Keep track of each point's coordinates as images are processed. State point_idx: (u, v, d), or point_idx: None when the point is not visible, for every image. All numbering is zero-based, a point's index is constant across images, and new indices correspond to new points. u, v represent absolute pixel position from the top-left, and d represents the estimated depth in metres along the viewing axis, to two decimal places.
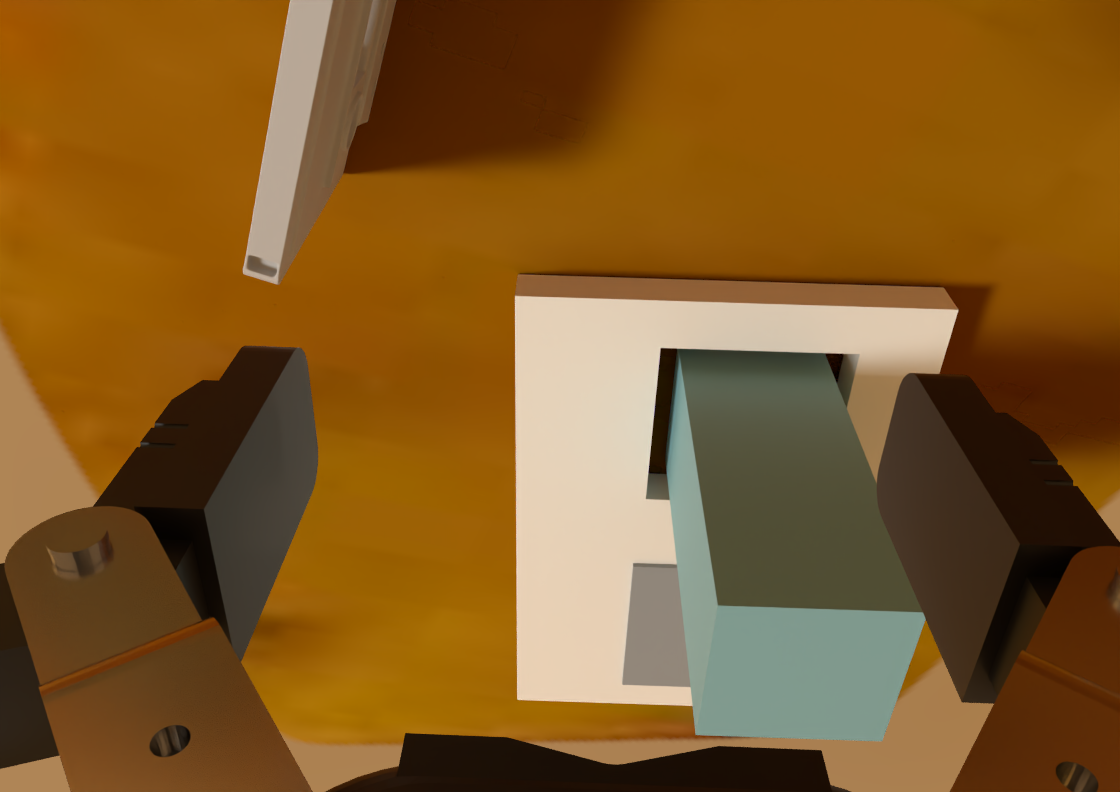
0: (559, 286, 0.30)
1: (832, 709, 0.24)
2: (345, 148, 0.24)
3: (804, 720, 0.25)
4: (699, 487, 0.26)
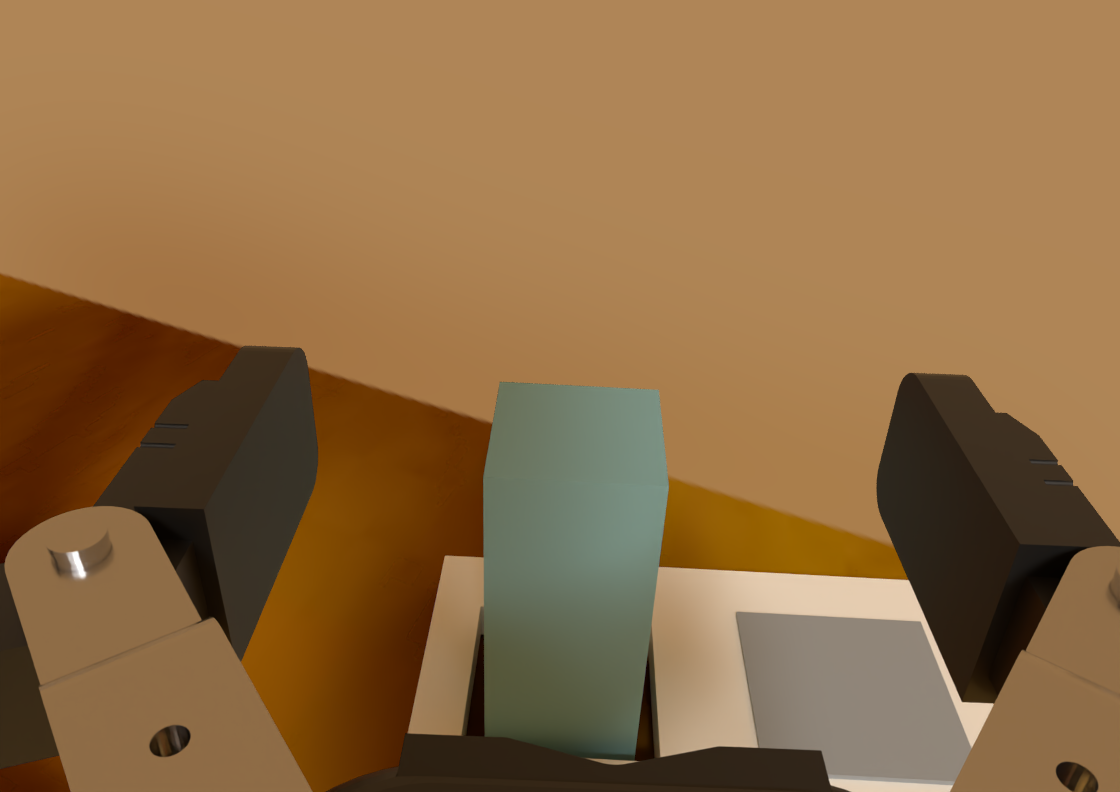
0: None
1: (619, 414, 0.28)
2: None
3: (637, 427, 0.27)
4: (485, 596, 0.27)
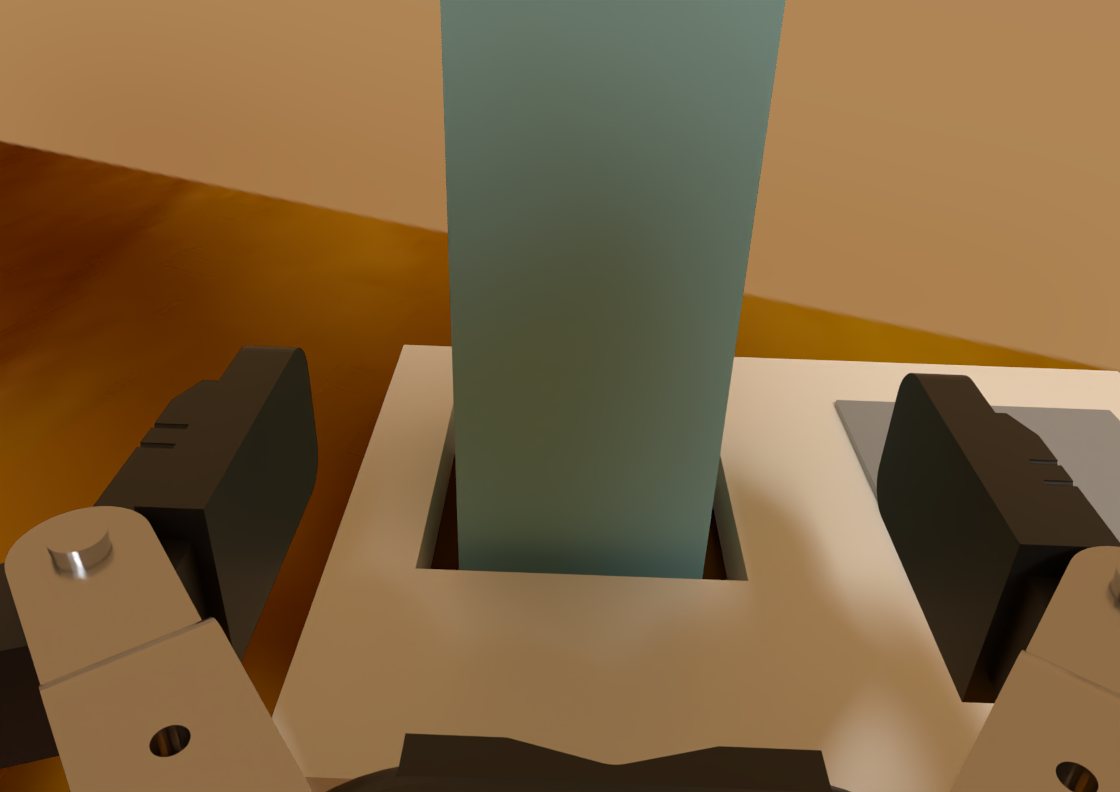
0: None
1: None
2: None
3: None
4: (451, 265, 0.16)
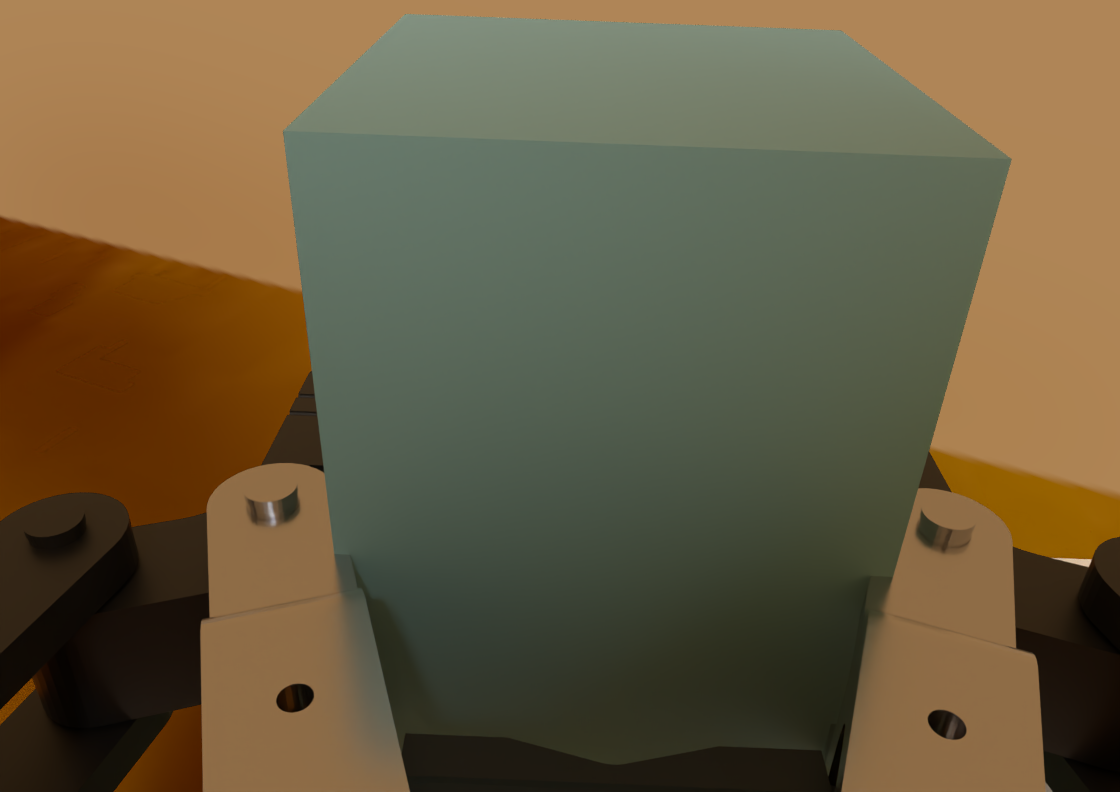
0: None
1: (751, 53, 0.09)
2: None
3: (815, 68, 0.09)
4: None
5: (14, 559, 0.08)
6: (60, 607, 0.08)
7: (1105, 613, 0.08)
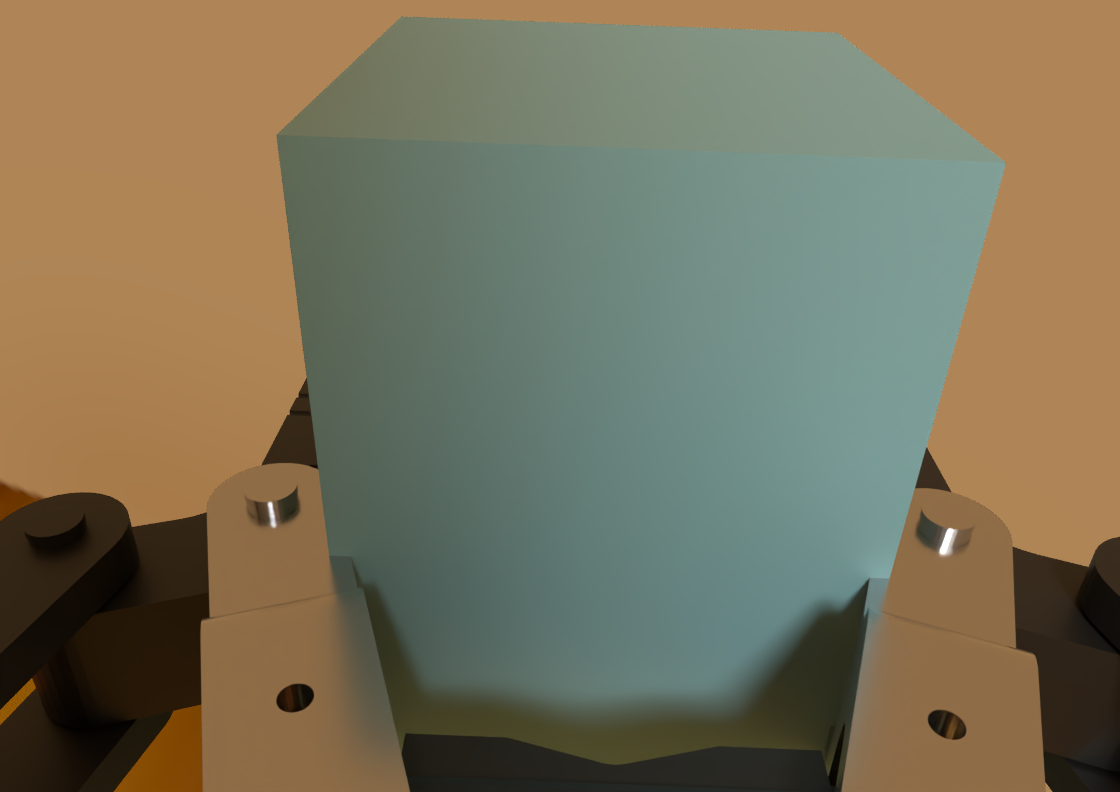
0: None
1: (747, 55, 0.09)
2: None
3: (810, 71, 0.09)
4: None
5: (14, 559, 0.08)
6: (61, 607, 0.08)
7: (1104, 613, 0.08)
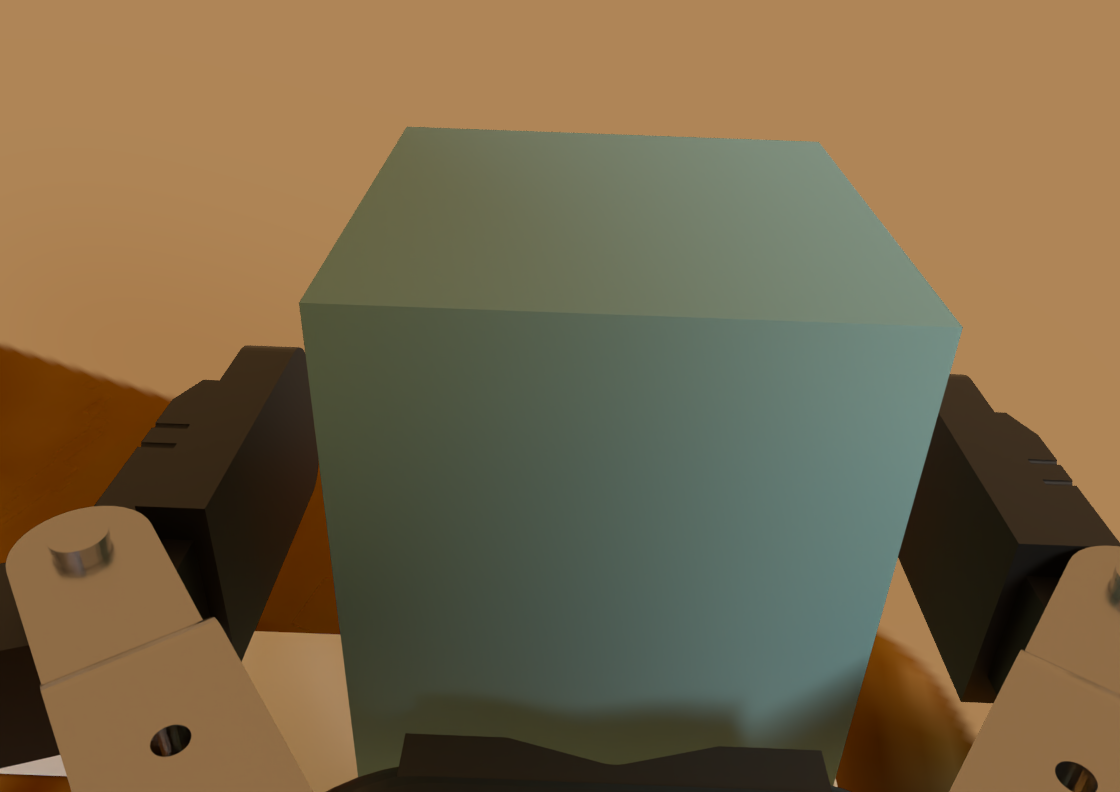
0: None
1: (731, 178, 0.10)
2: None
3: (791, 200, 0.09)
4: (353, 703, 0.09)
5: None
6: None
7: None
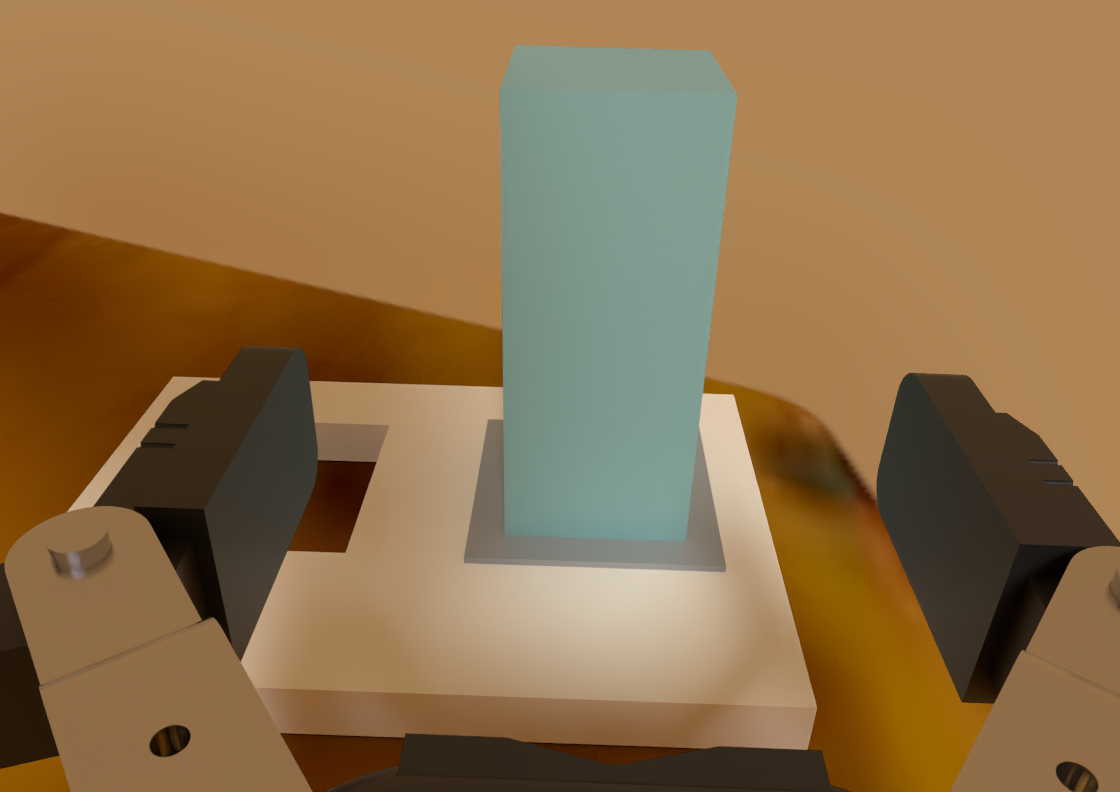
0: None
1: (665, 61, 0.23)
2: None
3: (688, 67, 0.22)
4: (503, 281, 0.22)
5: None
6: None
7: None
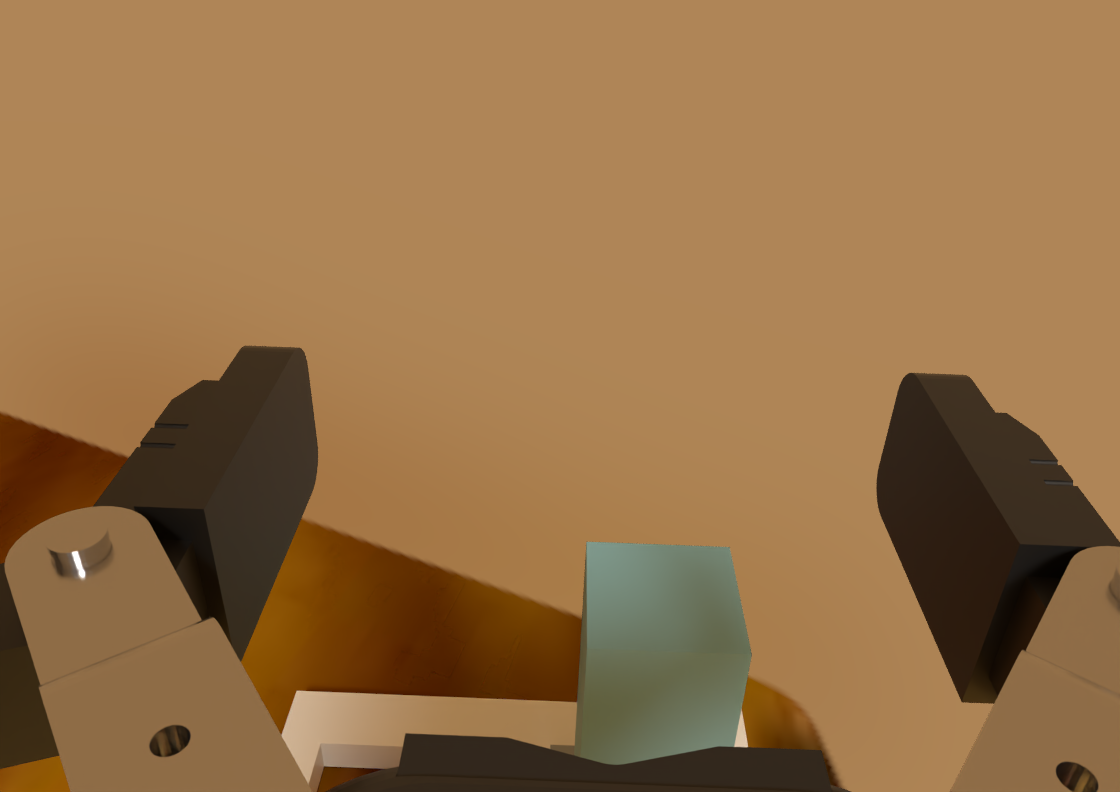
0: None
1: (698, 576, 0.31)
2: None
3: (715, 590, 0.31)
4: (582, 744, 0.31)
5: None
6: None
7: None
